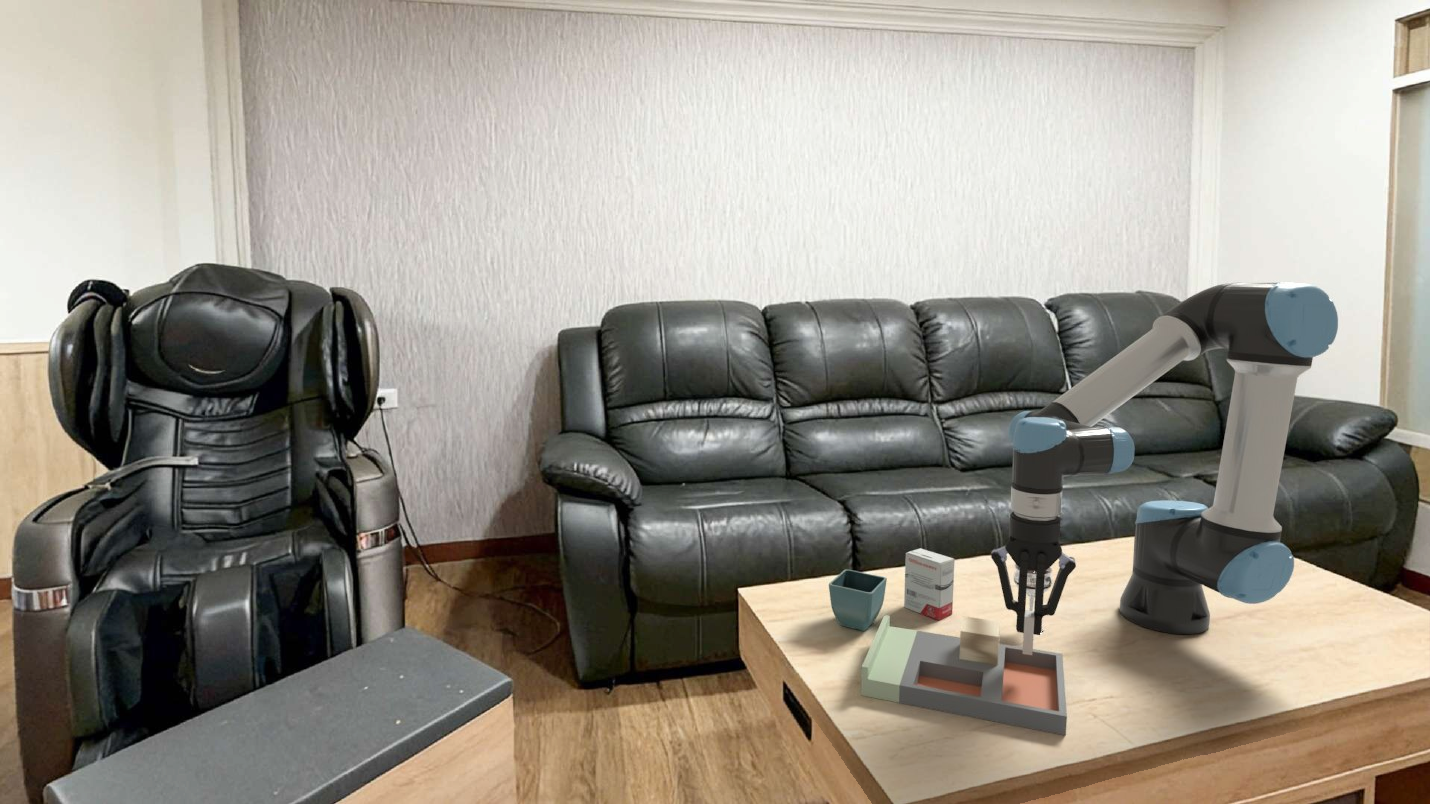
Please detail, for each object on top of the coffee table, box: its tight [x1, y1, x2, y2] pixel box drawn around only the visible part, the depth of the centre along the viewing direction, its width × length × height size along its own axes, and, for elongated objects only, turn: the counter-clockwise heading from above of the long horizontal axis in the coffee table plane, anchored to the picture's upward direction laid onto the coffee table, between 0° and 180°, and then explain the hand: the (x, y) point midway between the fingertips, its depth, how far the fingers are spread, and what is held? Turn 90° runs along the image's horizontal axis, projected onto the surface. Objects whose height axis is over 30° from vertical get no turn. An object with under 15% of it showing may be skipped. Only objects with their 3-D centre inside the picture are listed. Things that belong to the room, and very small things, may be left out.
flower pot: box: [828, 569, 888, 632], centre depth 146 cm, size 9×9×9 cm
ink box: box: [903, 547, 955, 621], centre depth 152 cm, size 8×5×12 cm, turn 39°
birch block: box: [959, 616, 1001, 665], centre depth 128 cm, size 6×6×5 cm
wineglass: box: [1013, 563, 1053, 632], centre depth 143 cm, size 7×7×12 cm
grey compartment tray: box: [860, 614, 1068, 736], centre depth 125 cm, size 30×20×5 cm, turn 67°
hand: (1027, 650), depth 125 cm, fingers closed
